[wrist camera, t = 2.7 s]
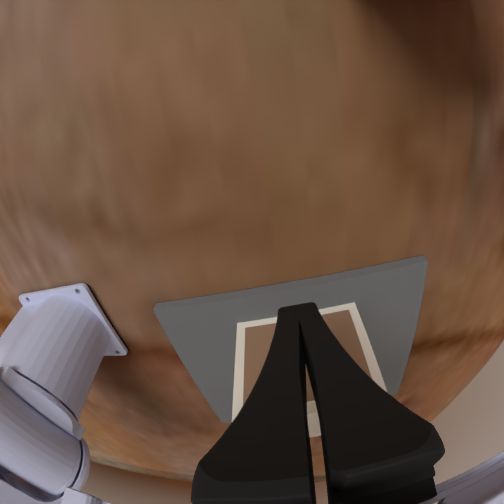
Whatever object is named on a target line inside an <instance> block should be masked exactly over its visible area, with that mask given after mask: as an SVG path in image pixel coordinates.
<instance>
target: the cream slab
mask: <svg viewBox="0 0 504 504" xmlns="http://www.w3.org/2000/svg"><path fill="white" fill-rule="evenodd" d="M319 312H320V314H321V316H322V317H323V319H324V321H325V322H326V324H327V326H328V327H329V329H330V330H331V332H332V333H333V334H334V336H335V337H336V338H337V340H338V341H339V343H340V344H341V345H342V347H343V348H344V349H345V350H346V352H347V353H348V354H349V355H350V356H351V358H352V359H353V360H354V361H355V362H356V363H357V364H358V365H359V367H360V368H361V369H362V370H363V371H364V372H365V373H366V374H367V375H368V376H369V377H370V378H371V379H372V380H373V381H375V382H376V383H377V384H378V385H379V386H380V387H381V388H382V389H384V390H385V391H386V392H387V390H386V387H385V384H384V381H383V378H382V375H381V372H380V369H379V366H378V363H377V360H376V358H375V355H374V352H373V349H372V346H371V344H370V341H369V338H368V336H367V333H366V330H365V328H364V325H363V322H362V320H361V317H360V315H359V312H358V310H357V307H356V305H355V302H353V303H349V304H344V305H339V306H334V307H329V308H324V309H319ZM276 322H277V317H274V318H267V319H261V320H255V321H248V322H241V323H237V335H236V352H235V370H234V388H233V407H232V422H233V420H234V419H235V418H236V416H237V415H238V413H239V412H240V410H241V408H242V407H243V405H244V403H245V402H246V400H247V398H248V397H249V395H250V393H251V391H252V389H253V387H254V385H255V383H256V381H257V379H258V377H259V375H260V372H261V370H262V367H263V365H264V362H265V360H266V357H267V355H268V352H269V349H270V345H271V342H272V339H273V335H274V331H275V327H276ZM306 388H307V418H308V429H309V437H316V436H321V431H320V423H319V417H318V412H317V408H316V404H315V400H314V395H313V391H312V387H311V383H310V379H309V375H308V371H307V367H306Z"/></svg>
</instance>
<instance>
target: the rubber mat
mask: <svg viewBox="0 0 504 504" xmlns="http://www.w3.org/2000/svg"><path fill="white" fill-rule="evenodd" d="M427 265H428V260H427V259H426V258H425V257H424V255H421V256H416V257H412V258H407V259H403V260H398V261H394V262H389V263H384V264H379V265H375V266H370V267H365V268H360V269H355V270H350V271H345V272H340V273H335V274H330V275H325V276H319V277H314V278H309V279H303V280H298V281H293V282H287V283H281V284H276V285H270V286H264V287H258V288H252V289H246V290H240V291H234V292H228V293H222V294H216V295H209V296H203V297H196V298H189V299H183V300H176V301H169V302H161V303H156V304H155V307H154V309H153V311H154V313H155V315H156V317H157V319H158V320H159V322H160V324H161V326H162V328H163V329H164V331H165V333H166V335H167V337H168V338H169V340H170V342H171V344H172V345H173V347H174V349H175V351H176V352H177V354H178V356H179V357H180V359H181V361H182V362H183V364H184V366H185V367H186V369H187V370H188V372H189V374H190V375H191V377H192V378H193V380H194V382H195V383H196V385H197V386H198V388H199V389H200V391H201V393H202V394H203V396H204V397H205V399H206V400H207V402H208V403H209V405H210V406H211V408H212V409H213V410H214V412H215V413H216V415H217V416H218V418H219V419H220V421H221V422H222V423H232V407H233V388H234V370H235V352H236V335H237V323H241V322H248V321H255V320H261V319H267V318H274V317H277V315H278V309H279V308H280V307H286V306H292V305H297V304H303V303H309V302H314V303H316V305H317V308H318V310H319V309H324V308H329V307H334V306H339V305H344V304H349V303H353V302H355V305H356V307H357V310H358V312H359V315H360V317H361V320H362V322H363V325H364V328H365V330H366V333H367V336H368V338H369V341H370V344H371V346H372V349H373V352H374V355H375V358H376V360H377V363H378V366H379V369H380V372H381V375H382V378H383V381H384V384H385V387H386V390H387V393H388V394H390V395H391V396H392V395H396V394H398V392H399V388H400V385H401V382H402V379H403V376H404V372H405V369H406V365H407V362H408V358H409V355H410V351H411V347H412V343H413V339H414V335H415V331H416V326H417V322H418V317H419V312H420V307H421V302H422V297H423V291H424V285H425V279H426V272H427Z"/></svg>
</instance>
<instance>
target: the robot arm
mask: <svg viewBox="0 0 504 504" xmlns="http://www.w3.org/2000/svg"><path fill="white" fill-rule="evenodd" d="M19 300H20V302H21V304H22V305H23V307H22V308H21V309H20V311H19V312H18V313H17V315H16V316H15V317H14V319H13V320H12V322H11V323H10V324H9V326H8V327H7V329H6V330H5V331H4V333H3V334H2V336H1V337H0V504H112V503H108V502H105V501H102V500H101V499H98V498H96V497H94V496H92V495H89V494H87V493H84V492H81V491H80V490H81V489H82V488H83V486H84V484H85V483H86V480H87V478H88V475H89V470H90V454H89V449H88V445H87V443H86V442H85V440H84V439H83V438H82V435H83V432H84V429H85V428H84V427H83V426H82V425H80V424H79V423H78V420H79V417H80V414H81V412H82V409H83V406H84V404H85V401H86V398H87V396H88V393H89V391H90V388H91V385H92V383H93V380H94V378H95V376H96V373H97V371H98V368H99V366H100V363H101V361H102V359H103V356H121V355H126V354H127V352H128V350H127V348H126V347H125V345H124V344H123V342H122V341H121V339H120V338H119V336H118V335H117V333H116V332H115V330H114V329H113V327H112V326H111V324H110V322H109V321H108V319H107V318H106V316H105V314H104V313H103V311H102V310H101V308H100V306H99V305H98V303H97V301H96V300H95V298H94V296H93V294H92V293H91V291H90V289H89V287H88V286H87V285H86V284H84V283H80V284H74V285H69V286H63V287H58V288H53V289H47V290H42V291H36V292H31V293H25V294H21V295H20V296H19ZM306 367H307V371H308V375H309V379H310V383H311V387H312V391H313V395H314V400H315V404H316V408H317V412H318V417H319V423H320V431H321V439H322V447H323V455H324V464H325V473H326V483H327V493H328V504H433V503H435V502H438V501H439V502H438V504H504V451H502V452H501V453H499V454H497V455H496V456H494V457H492V458H491V459H489V460H487V461H485V462H483V463H481V464H480V465H478V466H476V467H474V468H472V469H470V470H468V471H466V472H464V473H462V474H460V475H458V476H456V477H453V478H451V479H449V480H447V481H444V482H442V483H440V484H437V485H435V483H434V479H433V476H435V470H434V467H433V465H434V464H435V463H436V462H437V461H438V460H440V459H441V458H442V456H443V455H444V453H445V449H444V445H443V442H442V440H441V438H440V436H439V434H438V432H437V431H436V429H435V427H434V426H433V425H432V424H431V423H429V422H428V421H426V420H424V419H423V418H421V417H420V416H418V415H416V414H415V413H413V412H412V411H410V410H409V409H408V408H406V407H405V406H404V405H402V404H401V403H399V402H398V401H397V400H396V399H394V398H393V397H392V396H391V395H390V394H388V393H387V392H386V391H385V390H384V389H382V388H381V387H380V386H379V385H378V384H377V383H376V382H375V381H373V380H372V379H371V378H370V377H369V376H368V375H367V374H366V373H365V372H364V371H363V370H362V369H361V368H360V367H359V365H358V364H357V363H356V362H355V361H354V360H353V359H352V358H351V356H350V355H349V354H348V353H347V352H346V350H345V349H344V348H343V347H342V345H341V344H340V343H339V341H338V340H337V338H336V337H335V336H334V334H333V333H332V332H331V330H330V329H329V327H328V326H327V324H326V322H325V321H324V319H323V317H322V316H321V314H320V312H319V310H318V308H317V305H316V303H314V302H309V303H303V304H297V305H292V306H286V307H280V308H279V309H278V315H277V322H276V327H275V331H274V335H273V339H272V342H271V345H270V349H269V352H268V355H267V357H266V360H265V362H264V365H263V367H262V370H261V372H260V375H259V377H258V379H257V381H256V383H255V385H254V387H253V389H252V391H251V393H250V395H249V397H248V398H247V400H246V402H245V403H244V405H243V407H242V408H241V410H240V412H239V413H238V415H237V416H236V418H235V419H234V420H233V422H232V423H231V425H230V426H229V427H228V429H227V430H226V431H225V433H224V434H223V435H222V437H221V438H220V439H219V440H218V441H217V443H216V444H215V445H214V446H213V447H212V448H211V449H210V450H209V452H208V453H207V454H206V455H205V456H204V457H203V458H202V459H201V460H200V461H199V463H198V465H197V468H196V471H195V475H194V479H193V483H192V493H191V502H192V503H193V504H316V495H315V485H314V474H313V465H312V455H311V446H310V437H309V429H308V418H307V388H306ZM440 500H441V501H440Z"/></svg>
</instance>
